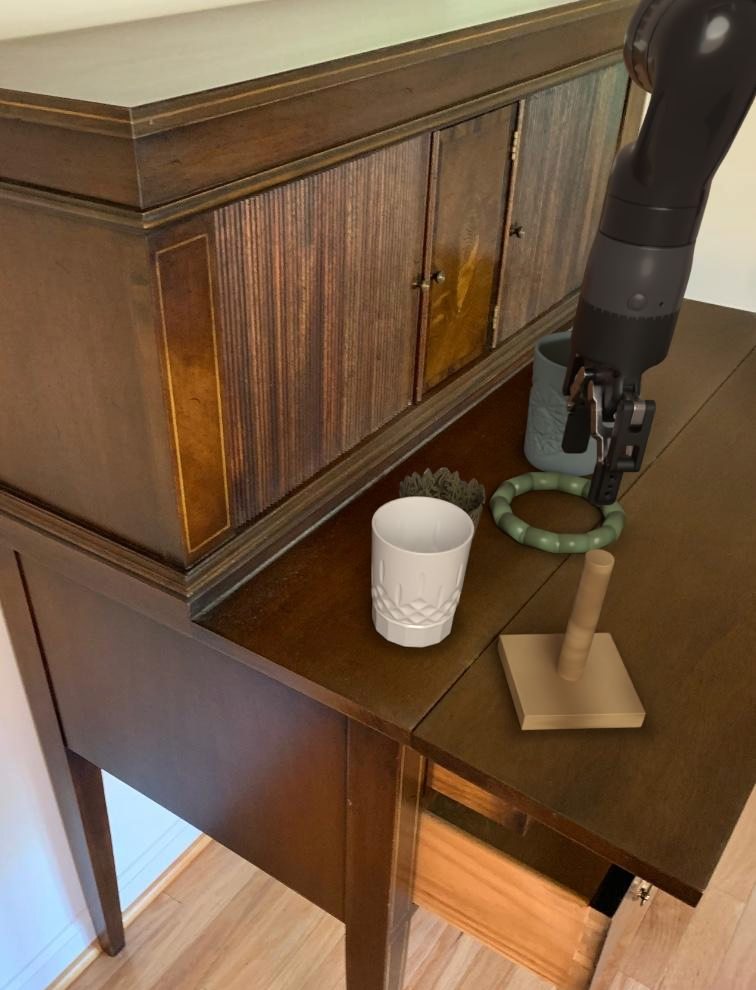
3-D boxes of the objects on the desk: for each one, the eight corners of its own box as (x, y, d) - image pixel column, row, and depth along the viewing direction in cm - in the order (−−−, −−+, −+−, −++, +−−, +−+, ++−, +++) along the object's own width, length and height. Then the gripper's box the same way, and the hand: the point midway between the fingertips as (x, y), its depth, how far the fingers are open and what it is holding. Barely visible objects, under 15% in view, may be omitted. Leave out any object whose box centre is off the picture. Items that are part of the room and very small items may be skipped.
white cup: (346, 614, 78) (351, 516, 72) (417, 581, 82) (427, 485, 75) (406, 666, 73) (417, 566, 67) (478, 629, 77) (495, 531, 70)
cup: (491, 564, 84) (503, 490, 78) (439, 600, 80) (449, 524, 74) (428, 530, 88) (436, 457, 83) (376, 562, 84) (381, 488, 79)
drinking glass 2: (513, 472, 96) (532, 365, 88) (519, 427, 104) (537, 324, 96) (613, 485, 94) (641, 377, 87) (611, 438, 102) (637, 335, 94)
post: (605, 646, 75) (642, 519, 67) (641, 727, 68) (687, 597, 60) (497, 648, 75) (521, 521, 67) (521, 730, 68) (551, 599, 60)
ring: (600, 483, 95) (604, 468, 93) (639, 556, 85) (644, 540, 84) (479, 484, 94) (481, 469, 93) (504, 558, 84) (507, 542, 83)
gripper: (715, 331, 65) (655, 522, 75) (649, 261, 76) (604, 436, 86) (611, 331, 64) (564, 522, 74) (559, 260, 75) (525, 436, 85)
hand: (586, 476), depth 80 cm, fingers open, 8 cm apart
